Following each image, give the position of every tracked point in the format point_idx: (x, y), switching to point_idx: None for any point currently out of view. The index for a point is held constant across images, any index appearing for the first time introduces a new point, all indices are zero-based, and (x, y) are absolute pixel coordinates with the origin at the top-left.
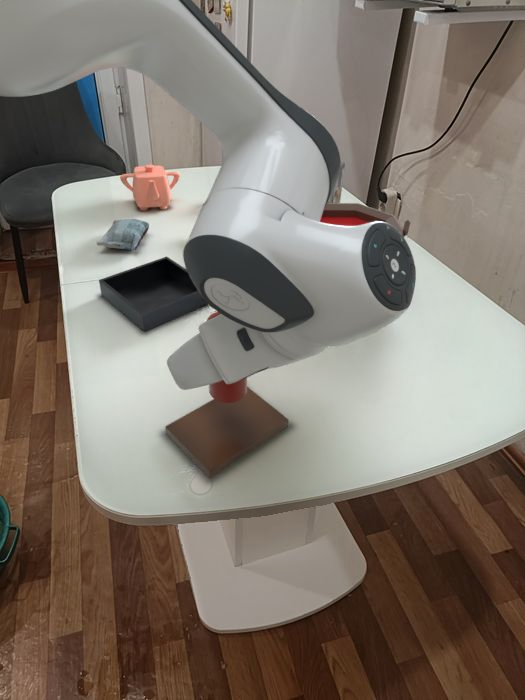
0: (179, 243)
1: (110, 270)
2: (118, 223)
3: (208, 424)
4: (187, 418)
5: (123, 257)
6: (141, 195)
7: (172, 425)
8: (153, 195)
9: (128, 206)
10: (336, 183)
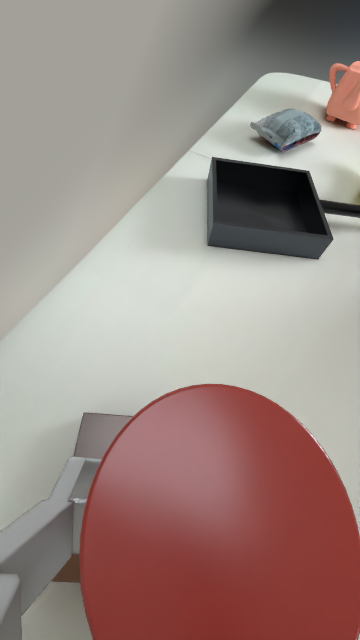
0: (337, 169)
1: (241, 159)
2: (288, 110)
3: None
4: (122, 425)
5: (266, 153)
6: (338, 97)
7: (93, 419)
8: (351, 101)
9: (316, 110)
10: None
